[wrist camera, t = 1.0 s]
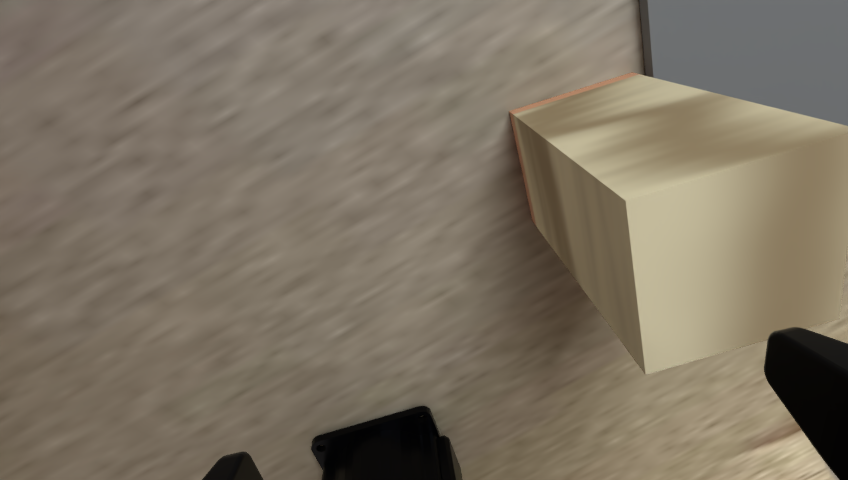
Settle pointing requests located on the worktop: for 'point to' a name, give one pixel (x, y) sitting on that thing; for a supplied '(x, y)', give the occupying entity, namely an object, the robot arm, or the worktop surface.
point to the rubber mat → (753, 51)
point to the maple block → (689, 212)
